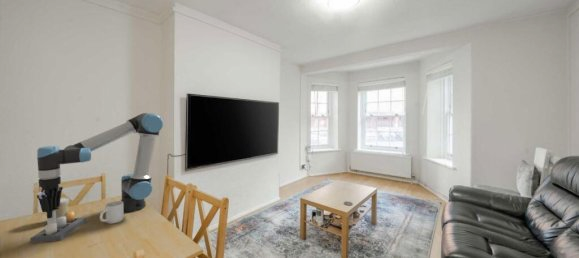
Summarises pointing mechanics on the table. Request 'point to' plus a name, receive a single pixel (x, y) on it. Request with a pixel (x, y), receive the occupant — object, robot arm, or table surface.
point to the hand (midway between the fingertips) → (52, 223)
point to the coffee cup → (62, 207)
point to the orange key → (70, 216)
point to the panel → (59, 231)
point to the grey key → (61, 222)
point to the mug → (113, 212)
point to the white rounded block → (51, 229)
